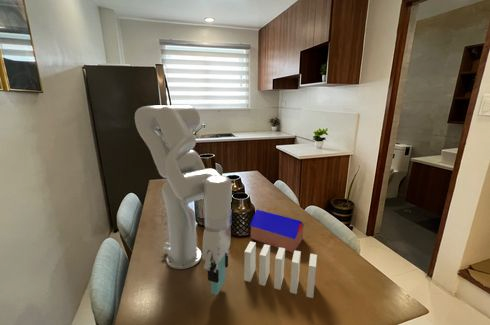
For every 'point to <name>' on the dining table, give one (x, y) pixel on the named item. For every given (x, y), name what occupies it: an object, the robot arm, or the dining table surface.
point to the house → (276, 230)
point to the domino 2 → (249, 261)
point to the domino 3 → (264, 264)
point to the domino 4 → (279, 268)
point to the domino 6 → (311, 275)
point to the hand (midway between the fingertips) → (218, 272)
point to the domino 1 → (221, 267)
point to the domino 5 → (295, 272)
